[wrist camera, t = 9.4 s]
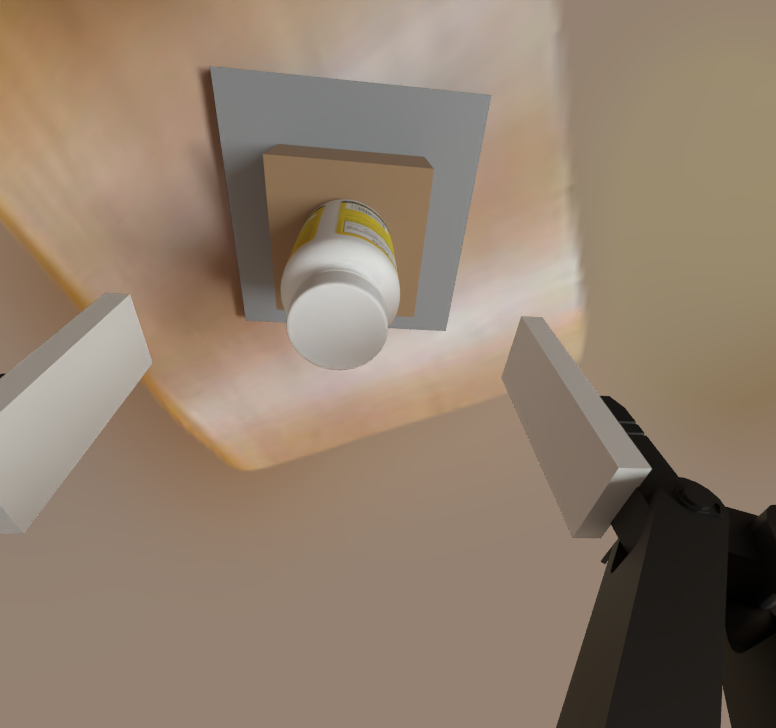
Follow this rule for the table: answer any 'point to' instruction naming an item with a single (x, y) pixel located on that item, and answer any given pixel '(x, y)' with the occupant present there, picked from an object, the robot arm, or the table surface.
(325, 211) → the supplement bottle
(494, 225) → the table surface
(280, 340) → the table surface
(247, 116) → the base
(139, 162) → the table surface
